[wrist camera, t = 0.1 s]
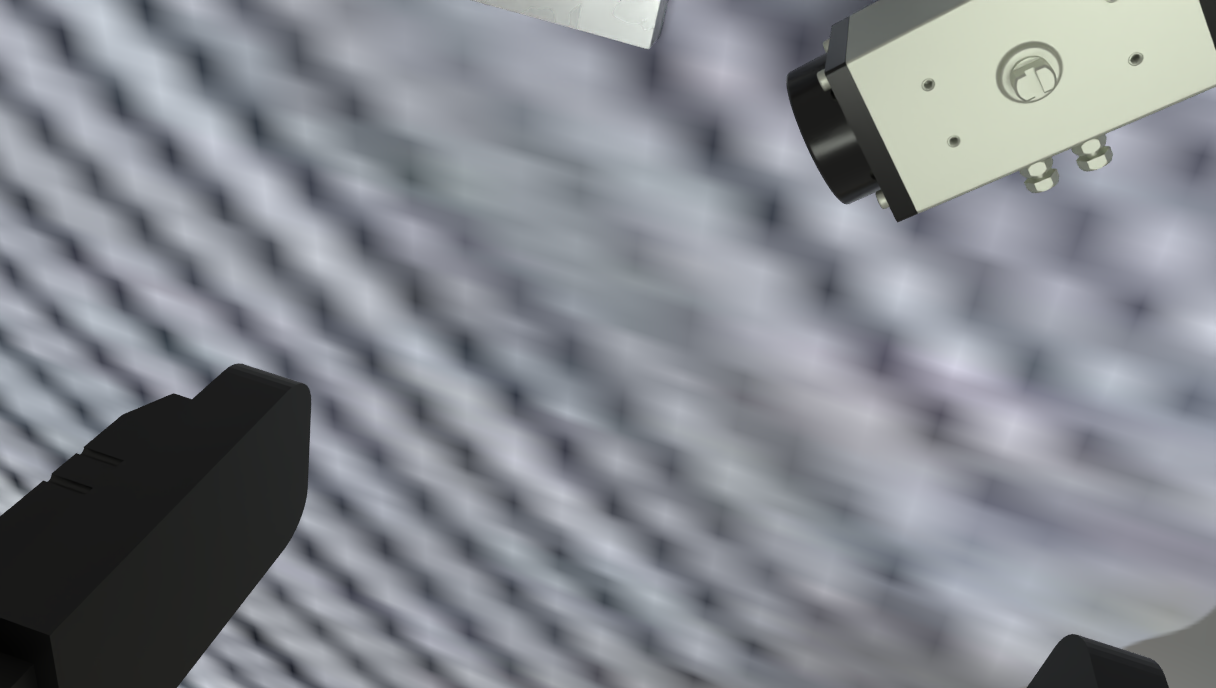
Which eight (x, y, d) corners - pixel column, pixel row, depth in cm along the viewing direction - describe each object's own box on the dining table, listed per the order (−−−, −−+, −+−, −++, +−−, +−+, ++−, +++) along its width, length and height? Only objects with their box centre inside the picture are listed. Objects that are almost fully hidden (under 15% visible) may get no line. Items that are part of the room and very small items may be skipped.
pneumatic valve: (799, 18, 35) (770, 110, 24) (1144, -171, 30) (1286, -153, 19) (863, 149, 36) (860, 286, 26) (1199, -8, 31) (1356, 86, 21)
